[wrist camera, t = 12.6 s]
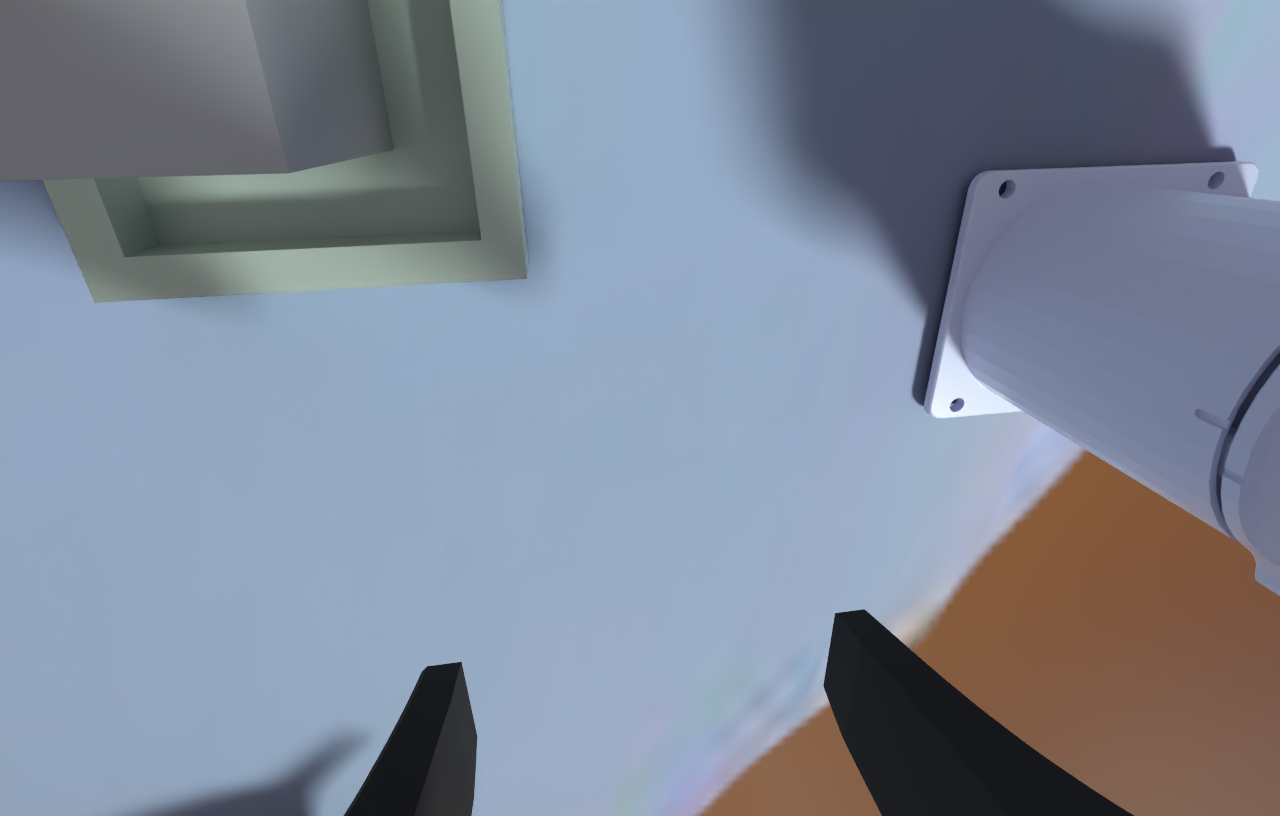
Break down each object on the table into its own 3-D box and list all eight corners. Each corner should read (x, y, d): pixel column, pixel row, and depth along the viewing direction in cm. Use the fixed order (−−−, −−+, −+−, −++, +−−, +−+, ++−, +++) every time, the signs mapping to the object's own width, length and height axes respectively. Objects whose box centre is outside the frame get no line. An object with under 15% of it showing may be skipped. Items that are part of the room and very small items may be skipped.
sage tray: (480, -215, 13) (470, -269, 11) (528, 261, 17) (527, 278, 15) (-55, -238, 11) (-165, -303, 10) (144, 281, 16) (94, 302, 14)
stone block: (359, -49, 13) (195, -197, 7) (394, 150, 15) (288, 173, 9) (160, -52, 13) (-207, -214, 6) (220, 153, 14) (-23, 181, 8)
